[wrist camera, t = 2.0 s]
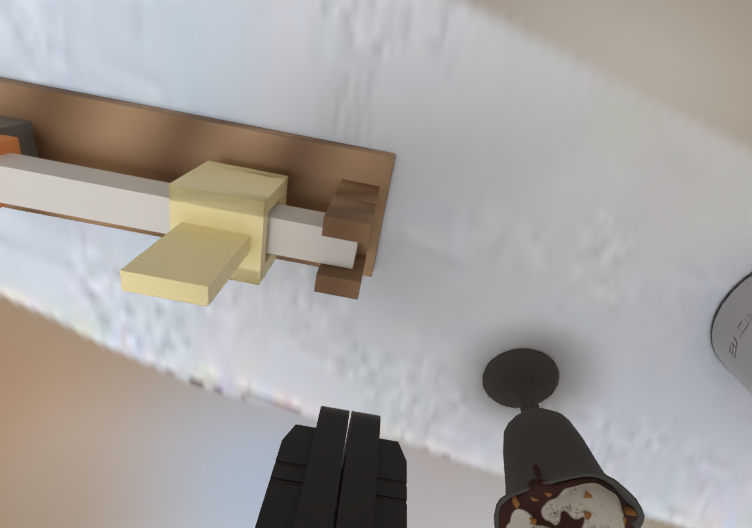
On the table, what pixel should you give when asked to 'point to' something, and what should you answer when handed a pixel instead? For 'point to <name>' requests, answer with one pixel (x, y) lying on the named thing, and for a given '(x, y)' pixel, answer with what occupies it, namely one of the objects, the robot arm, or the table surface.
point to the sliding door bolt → (138, 199)
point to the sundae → (549, 456)
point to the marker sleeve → (210, 235)
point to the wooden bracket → (218, 144)
